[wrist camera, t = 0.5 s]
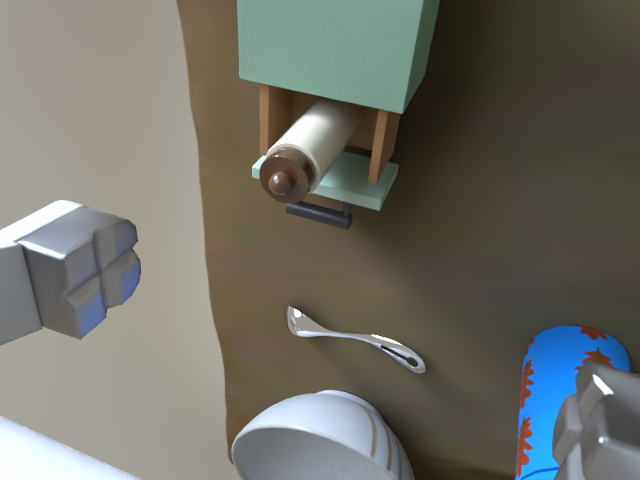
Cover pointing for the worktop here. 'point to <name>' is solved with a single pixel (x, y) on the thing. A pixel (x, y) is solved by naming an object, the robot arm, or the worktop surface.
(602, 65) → the worktop surface
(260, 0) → the cabinet
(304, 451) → the decorative bowl
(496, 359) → the worktop surface
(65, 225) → the robot arm
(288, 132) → the canister with knobbed lid
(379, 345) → the silver spoon
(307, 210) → the drawer
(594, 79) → the worktop surface
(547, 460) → the thermos
